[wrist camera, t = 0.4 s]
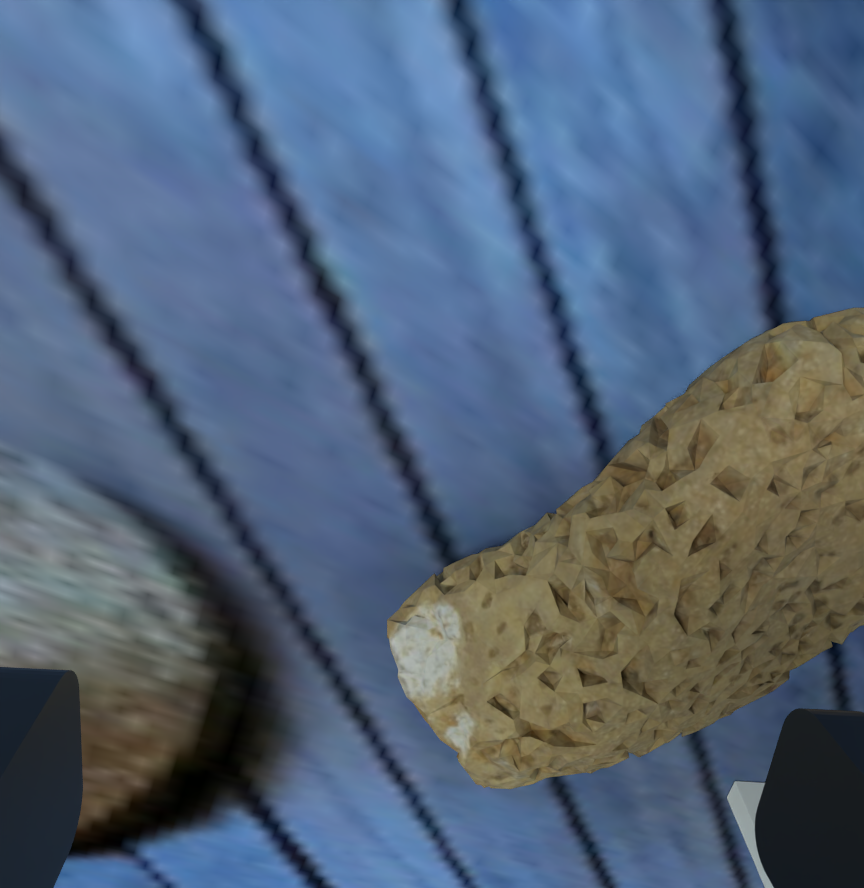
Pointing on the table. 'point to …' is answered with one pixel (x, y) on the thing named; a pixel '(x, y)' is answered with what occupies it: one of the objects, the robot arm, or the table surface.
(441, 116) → the table surface
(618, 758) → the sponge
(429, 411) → the table surface
